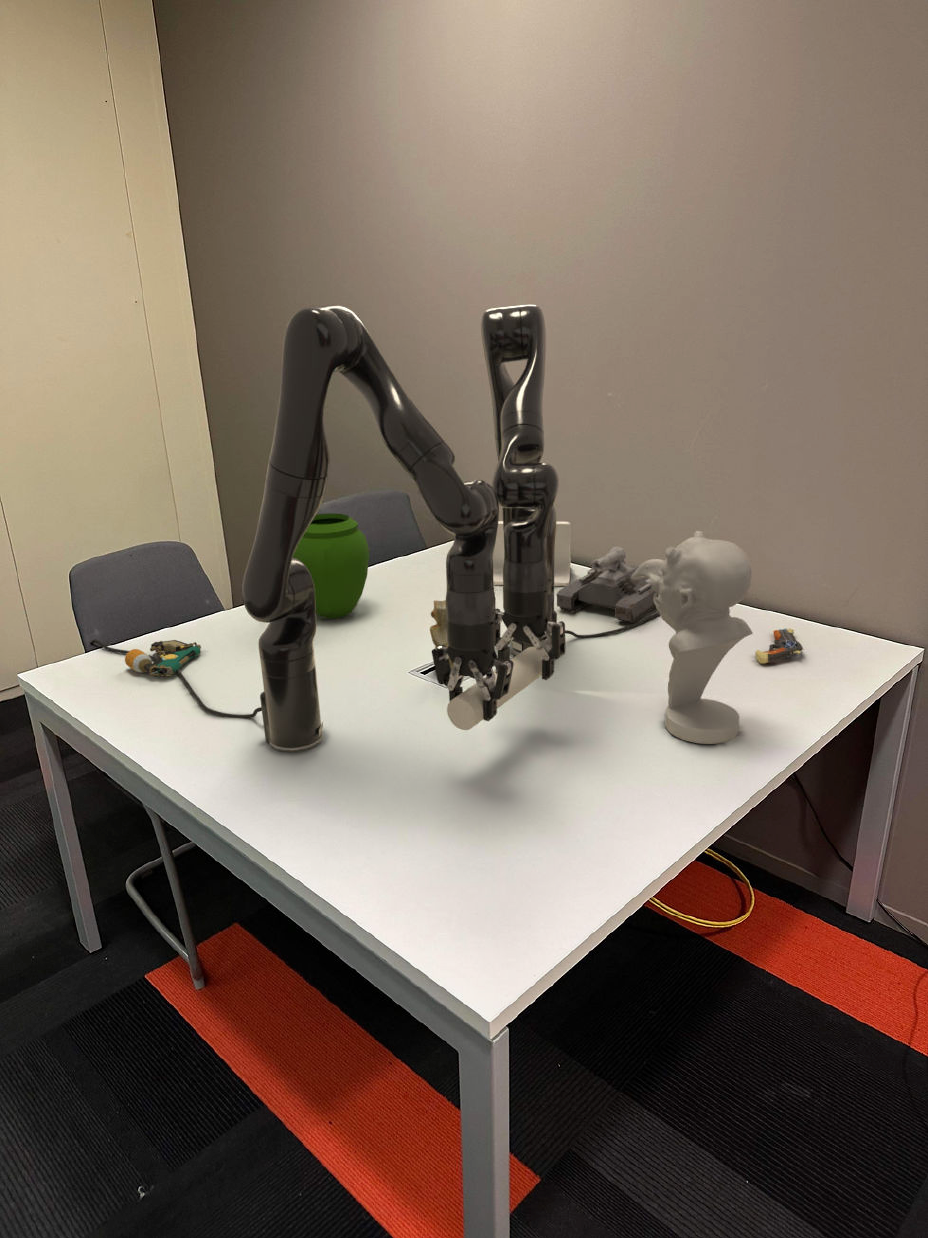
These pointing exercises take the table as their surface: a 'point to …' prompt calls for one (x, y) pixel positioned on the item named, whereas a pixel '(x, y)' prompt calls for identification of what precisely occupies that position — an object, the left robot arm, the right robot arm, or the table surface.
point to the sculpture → (439, 625)
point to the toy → (610, 589)
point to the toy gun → (780, 646)
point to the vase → (335, 563)
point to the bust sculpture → (699, 629)
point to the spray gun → (162, 657)
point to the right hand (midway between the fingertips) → (525, 673)
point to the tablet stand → (560, 561)
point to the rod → (525, 671)
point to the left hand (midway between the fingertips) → (473, 714)
